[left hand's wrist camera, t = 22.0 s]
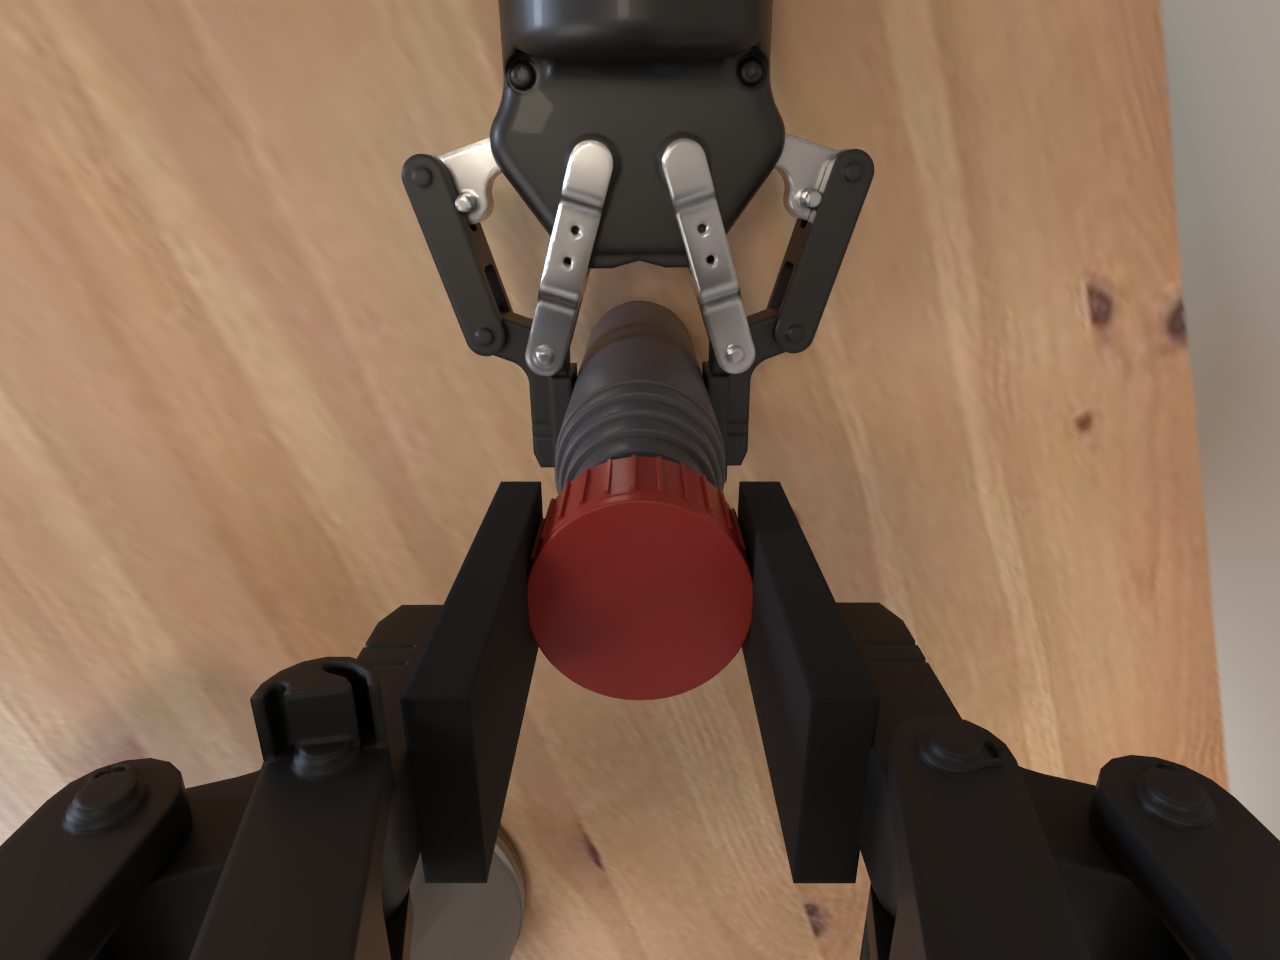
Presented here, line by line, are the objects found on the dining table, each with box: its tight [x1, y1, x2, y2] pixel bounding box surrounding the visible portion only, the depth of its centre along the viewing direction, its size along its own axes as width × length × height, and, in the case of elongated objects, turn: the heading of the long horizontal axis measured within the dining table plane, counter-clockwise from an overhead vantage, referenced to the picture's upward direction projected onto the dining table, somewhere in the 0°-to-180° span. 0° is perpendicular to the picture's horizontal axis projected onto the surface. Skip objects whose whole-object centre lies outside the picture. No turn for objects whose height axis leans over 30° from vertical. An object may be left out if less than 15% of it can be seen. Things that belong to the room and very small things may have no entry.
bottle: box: [555, 301, 725, 494], centre depth 22 cm, size 4×4×20 cm
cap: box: [527, 455, 753, 700], centre depth 14 cm, size 4×4×2 cm
